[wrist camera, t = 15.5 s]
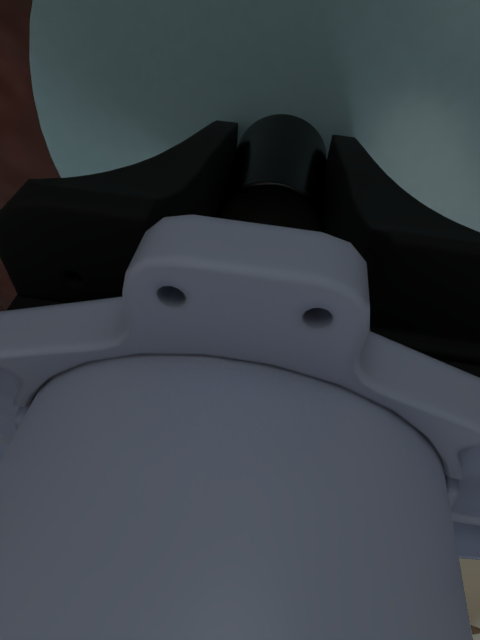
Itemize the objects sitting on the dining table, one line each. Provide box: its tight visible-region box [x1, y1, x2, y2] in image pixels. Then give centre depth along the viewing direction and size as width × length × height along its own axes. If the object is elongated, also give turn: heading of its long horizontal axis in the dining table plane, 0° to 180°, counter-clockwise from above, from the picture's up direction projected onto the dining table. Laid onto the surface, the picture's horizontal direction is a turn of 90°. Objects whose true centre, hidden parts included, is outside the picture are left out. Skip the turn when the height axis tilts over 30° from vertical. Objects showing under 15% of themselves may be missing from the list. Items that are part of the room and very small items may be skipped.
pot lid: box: [29, 0, 480, 233], centre depth 12 cm, size 15×15×5 cm
